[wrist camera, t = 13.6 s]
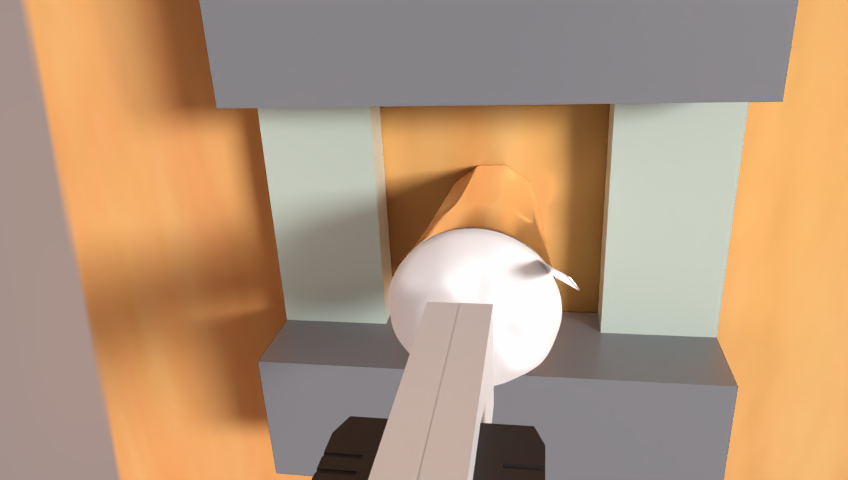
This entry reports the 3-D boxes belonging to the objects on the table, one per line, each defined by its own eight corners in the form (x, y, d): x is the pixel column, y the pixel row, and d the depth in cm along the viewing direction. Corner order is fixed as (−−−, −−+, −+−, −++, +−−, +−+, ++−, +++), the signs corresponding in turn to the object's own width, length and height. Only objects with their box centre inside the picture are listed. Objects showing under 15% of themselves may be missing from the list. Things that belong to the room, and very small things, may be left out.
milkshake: (600, 206, 25) (633, 357, 16) (482, 282, 27) (451, 455, 18) (525, 106, 24) (514, 205, 15) (408, 193, 26) (334, 327, 17)
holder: (250, -70, 23) (187, -73, 19) (761, -99, 20) (815, -110, 16) (312, 402, 30) (276, 473, 26) (693, 425, 28) (718, 508, 24)
